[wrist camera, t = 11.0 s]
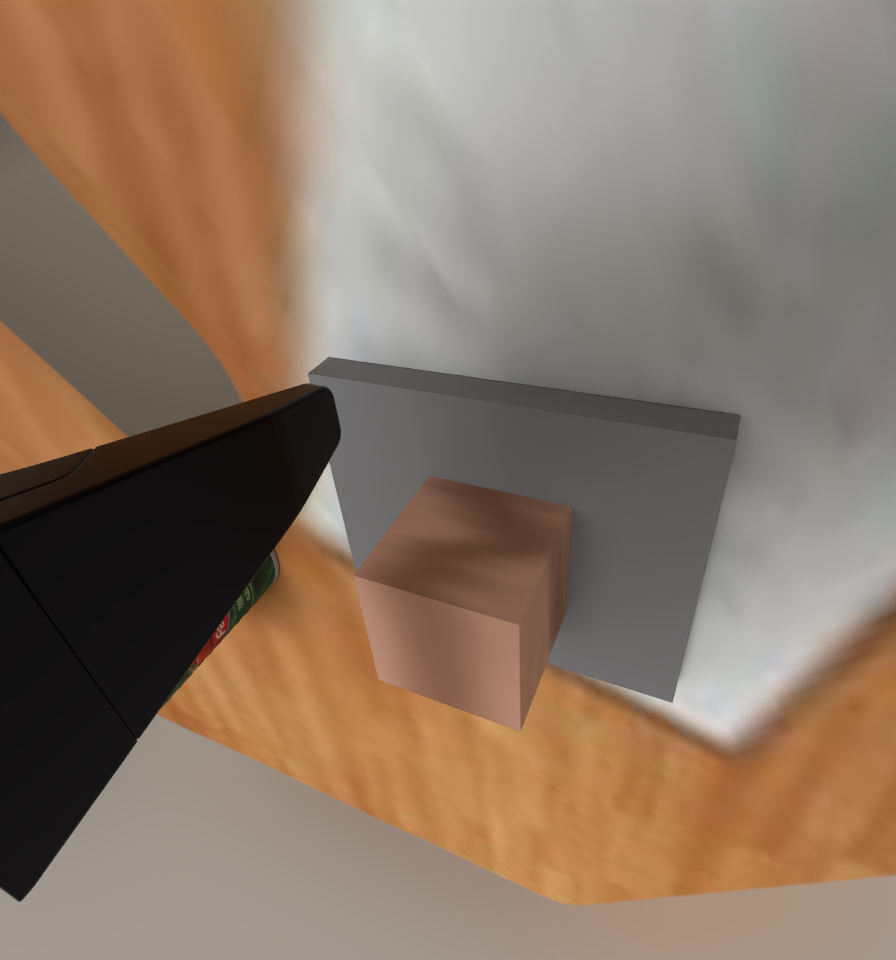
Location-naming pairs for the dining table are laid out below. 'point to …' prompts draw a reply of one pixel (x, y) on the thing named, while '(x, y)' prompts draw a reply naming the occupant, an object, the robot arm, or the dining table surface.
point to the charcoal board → (552, 494)
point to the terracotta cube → (468, 597)
